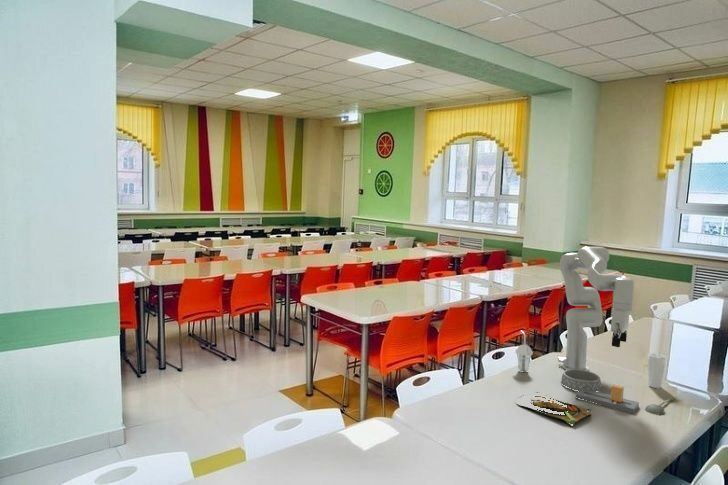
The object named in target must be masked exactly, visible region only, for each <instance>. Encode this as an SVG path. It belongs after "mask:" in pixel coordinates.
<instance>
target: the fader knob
mask: <svg viewBox="0 0 728 485" xmlns="http://www.w3.org/2000/svg"><path fill="white" fill-rule="evenodd" d="M624 389H625V388H624V386H622V385H619V384H612V385H611V392H610V395H611V400H614V401H618V402H622V401H623V398H624Z"/></svg>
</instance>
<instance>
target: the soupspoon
mask: <svg viewBox="0 0 728 485" xmlns="http://www.w3.org/2000/svg"><path fill="white" fill-rule="evenodd" d="M674 401H675V398H673V397H670V398H668V399H666V400H664V401H662V402H660V403H659V404H654V403H653V404H647V405H646V406H645V409H644V410H645V411H646V412H647V413H649V414H653V415H656V416H661V415H662V414H663V413H664V412H665V408H664V407H663V405H665V403H667V402H674Z"/></svg>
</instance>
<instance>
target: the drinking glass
mask: <svg viewBox="0 0 728 485" xmlns="http://www.w3.org/2000/svg"><path fill="white" fill-rule="evenodd" d="M665 365H666V357H665V355H663V354H661V353H651V352H650V353H648V358H647V372H648V373H647V374H648V375H647V376H648V378H647V379H648V384H647V385H648V386H649V387H650V388H653V389H660V388H662V384H663V383H662V382H663V378H664V371H665Z"/></svg>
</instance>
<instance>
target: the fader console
mask: <svg viewBox="0 0 728 485" xmlns="http://www.w3.org/2000/svg"><path fill="white" fill-rule="evenodd" d="M576 397H577V398H580V399H584V400H587V401H591V402H594V403H593V404H595V403H597V404H596V405H598V404H601V405H600V406H602V405H604V406H603V407H606V406H607V407H606V408H610V407H611V408H610V409H614V408H615V409H614V410H617V409H618V411H621V410H622V411H621V412H625V411H626V412H625V413H629V412H630V414H633V413H634V414H635V412H636V411H637V410H638V408H639V407H640V406H639V404H640V402H638V401H635V400H632V399H627V398H624V397H623V401H622V402H618V401H614V400H611V394H607V393H603V392H601V391H599V392H595V391H591V390H587V389H583V388H582V389H581V390H580V391H579V392H576V393H575V398H576ZM587 401H586V402H587ZM591 402H590V403H591Z"/></svg>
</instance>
